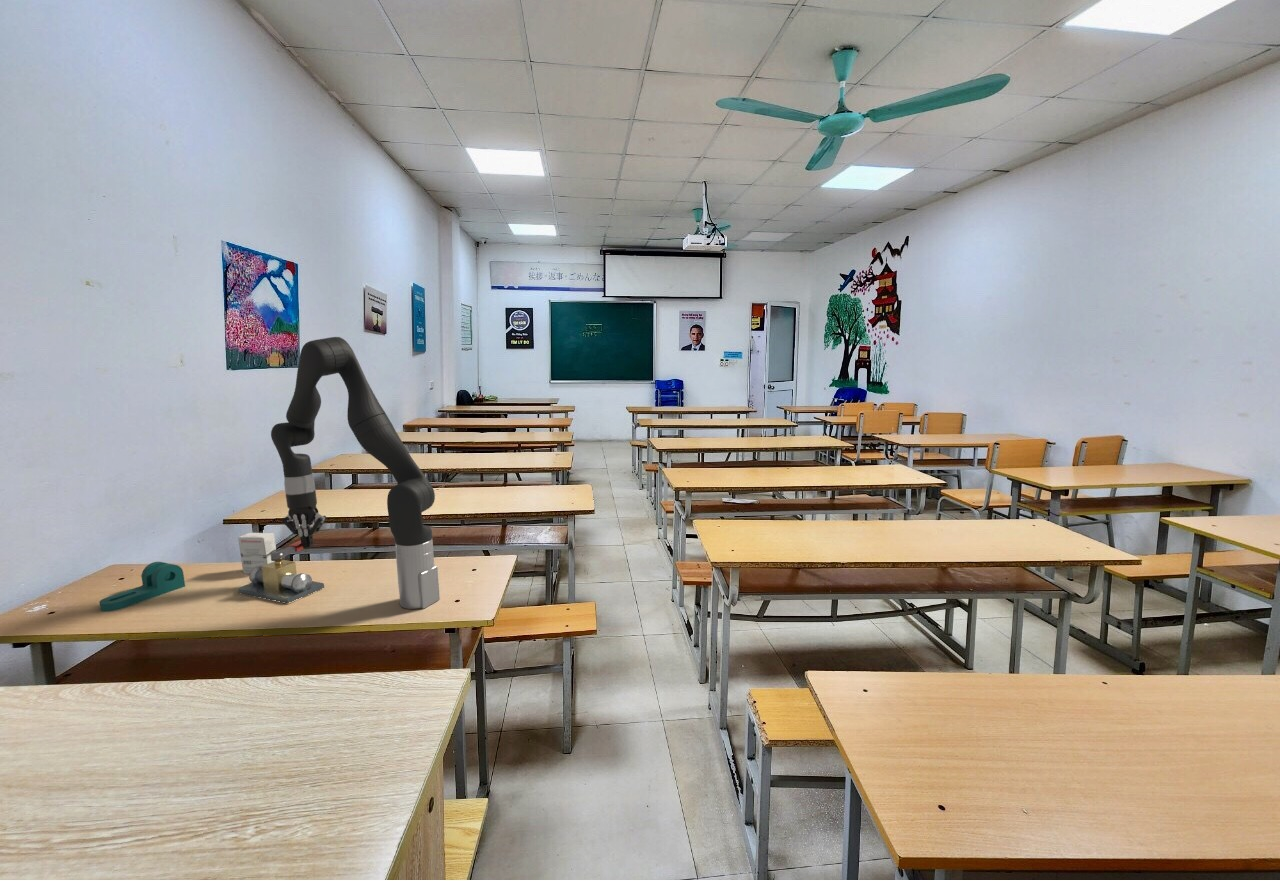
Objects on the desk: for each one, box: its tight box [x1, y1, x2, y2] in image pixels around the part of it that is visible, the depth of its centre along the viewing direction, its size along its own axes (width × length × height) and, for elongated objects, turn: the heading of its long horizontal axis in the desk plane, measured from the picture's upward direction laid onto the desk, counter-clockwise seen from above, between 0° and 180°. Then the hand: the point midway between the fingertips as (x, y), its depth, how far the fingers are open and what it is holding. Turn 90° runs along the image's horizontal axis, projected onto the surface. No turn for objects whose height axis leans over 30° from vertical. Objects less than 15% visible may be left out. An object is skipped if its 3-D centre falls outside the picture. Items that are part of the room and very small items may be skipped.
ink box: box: [237, 532, 277, 575], centre depth 176 cm, size 9×5×12 cm, turn 84°
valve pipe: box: [237, 559, 325, 604], centre depth 162 cm, size 20×11×9 cm, turn 68°
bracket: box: [98, 561, 186, 612], centre depth 159 cm, size 18×7×8 cm, turn 158°
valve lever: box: [271, 539, 304, 561], centre depth 166 cm, size 3×13×2 cm, turn 173°
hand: (307, 547), depth 169 cm, fingers closed
